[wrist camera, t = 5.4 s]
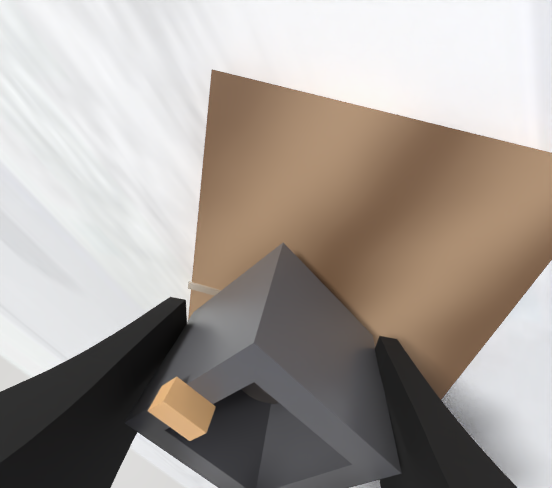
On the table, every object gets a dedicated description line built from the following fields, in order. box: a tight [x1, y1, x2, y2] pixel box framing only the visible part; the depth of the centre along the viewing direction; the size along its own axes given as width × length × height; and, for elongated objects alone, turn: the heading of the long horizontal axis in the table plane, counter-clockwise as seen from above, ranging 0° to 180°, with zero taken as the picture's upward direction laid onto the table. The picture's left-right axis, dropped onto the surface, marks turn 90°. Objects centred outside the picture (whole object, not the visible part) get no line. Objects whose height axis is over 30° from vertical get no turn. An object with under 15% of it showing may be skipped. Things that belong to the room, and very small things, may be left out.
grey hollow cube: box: [125, 243, 402, 488], centre depth 9 cm, size 5×5×5 cm
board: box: [188, 70, 552, 404], centre depth 10 cm, size 12×12×4 cm
